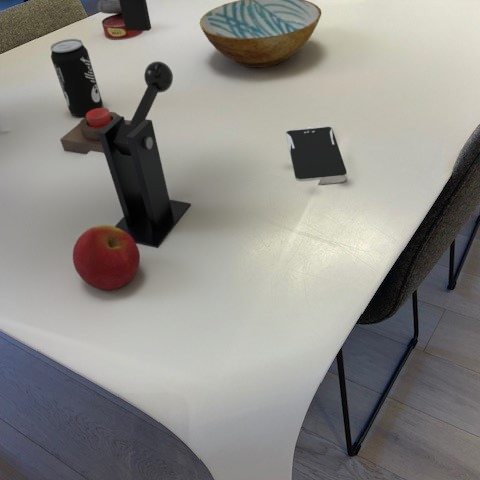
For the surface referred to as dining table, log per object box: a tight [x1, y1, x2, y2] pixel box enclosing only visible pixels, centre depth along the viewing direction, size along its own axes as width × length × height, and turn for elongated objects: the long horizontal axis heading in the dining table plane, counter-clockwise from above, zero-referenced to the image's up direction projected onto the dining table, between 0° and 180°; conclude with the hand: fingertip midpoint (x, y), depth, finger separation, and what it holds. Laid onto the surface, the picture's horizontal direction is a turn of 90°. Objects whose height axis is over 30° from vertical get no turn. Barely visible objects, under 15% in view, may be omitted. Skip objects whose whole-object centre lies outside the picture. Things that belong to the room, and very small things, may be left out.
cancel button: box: [86, 107, 112, 128], centre depth 84 cm, size 4×4×2 cm
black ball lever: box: [113, 61, 174, 156], centre depth 62 cm, size 13×4×4 cm, turn 158°
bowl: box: [199, 0, 323, 68], centre depth 104 cm, size 25×25×8 cm
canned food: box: [96, 0, 144, 41], centre depth 123 cm, size 11×10×10 cm
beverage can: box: [49, 38, 103, 118], centre depth 92 cm, size 7×7×12 cm
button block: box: [59, 111, 131, 155], centre depth 86 cm, size 12×9×4 cm
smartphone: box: [285, 125, 348, 186], centre depth 78 cm, size 8×1×15 cm
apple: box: [72, 224, 141, 291], centre depth 60 cm, size 8×8×8 cm
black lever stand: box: [98, 115, 192, 249], centre depth 65 cm, size 10×8×15 cm
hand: (161, 8), depth 58 cm, fingers open, 13 cm apart
